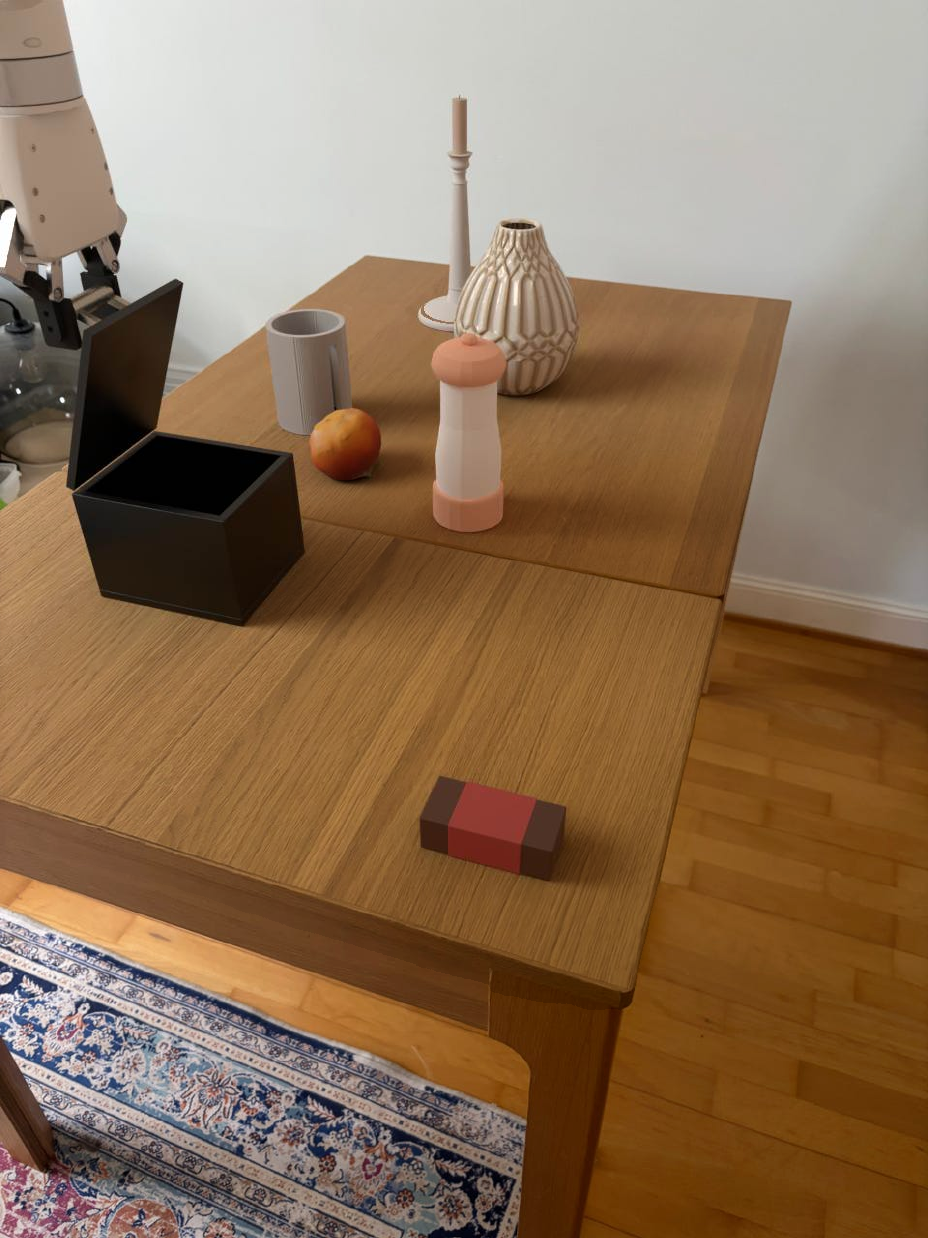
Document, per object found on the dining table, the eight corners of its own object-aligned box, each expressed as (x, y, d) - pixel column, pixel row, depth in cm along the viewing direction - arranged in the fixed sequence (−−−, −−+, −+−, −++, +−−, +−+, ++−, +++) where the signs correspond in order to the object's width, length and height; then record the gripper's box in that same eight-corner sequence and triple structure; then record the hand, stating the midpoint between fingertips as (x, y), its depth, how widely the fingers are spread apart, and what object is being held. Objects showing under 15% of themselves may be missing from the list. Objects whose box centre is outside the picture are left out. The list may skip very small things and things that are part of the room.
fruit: (396, 476, 102) (353, 417, 98) (336, 508, 104) (292, 452, 100) (401, 441, 108) (361, 385, 104) (345, 473, 111) (304, 418, 107)
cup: (296, 399, 121) (285, 305, 113) (363, 407, 119) (356, 312, 111) (265, 429, 114) (251, 332, 107) (335, 439, 112) (326, 340, 105)
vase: (582, 365, 129) (595, 210, 117) (563, 414, 117) (575, 247, 105) (470, 354, 133) (470, 202, 120) (440, 400, 120) (437, 237, 108)
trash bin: (305, 551, 93) (293, 452, 86) (242, 626, 83) (223, 521, 77) (175, 527, 96) (154, 430, 90) (101, 596, 87) (71, 493, 80)
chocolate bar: (564, 835, 65) (567, 805, 63) (549, 883, 62) (552, 852, 60) (440, 804, 67) (439, 774, 65) (420, 848, 64) (418, 818, 62)
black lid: (183, 282, 79) (127, 251, 79) (92, 335, 70) (28, 300, 70) (156, 428, 89) (106, 400, 89) (73, 491, 80) (17, 460, 80)
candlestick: (408, 327, 141) (400, 100, 122) (430, 299, 151) (425, 85, 132) (493, 334, 138) (497, 104, 120) (509, 305, 148) (515, 88, 130)
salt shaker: (517, 515, 98) (524, 335, 86) (465, 540, 94) (465, 355, 83) (471, 489, 102) (472, 314, 91) (419, 512, 99) (412, 332, 87)
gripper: (58, 64, 74) (111, 296, 85) (-112, 100, 61) (-23, 367, 72) (140, 68, 72) (183, 305, 83) (-18, 106, 59) (59, 380, 70)
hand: (87, 331), depth 78 cm, fingers closed on black lid, 5 cm apart
